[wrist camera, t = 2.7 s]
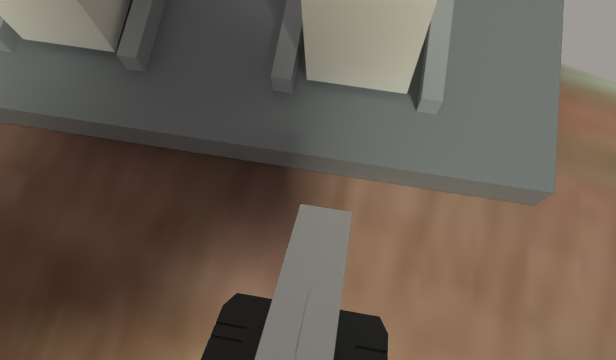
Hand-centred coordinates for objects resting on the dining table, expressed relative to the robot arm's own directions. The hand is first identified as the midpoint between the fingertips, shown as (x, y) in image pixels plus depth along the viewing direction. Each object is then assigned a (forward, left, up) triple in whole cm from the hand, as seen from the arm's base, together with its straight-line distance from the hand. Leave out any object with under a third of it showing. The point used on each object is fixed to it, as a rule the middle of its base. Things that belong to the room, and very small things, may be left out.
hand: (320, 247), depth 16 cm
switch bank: (+6, -12, -6) cm, 15 cm away
